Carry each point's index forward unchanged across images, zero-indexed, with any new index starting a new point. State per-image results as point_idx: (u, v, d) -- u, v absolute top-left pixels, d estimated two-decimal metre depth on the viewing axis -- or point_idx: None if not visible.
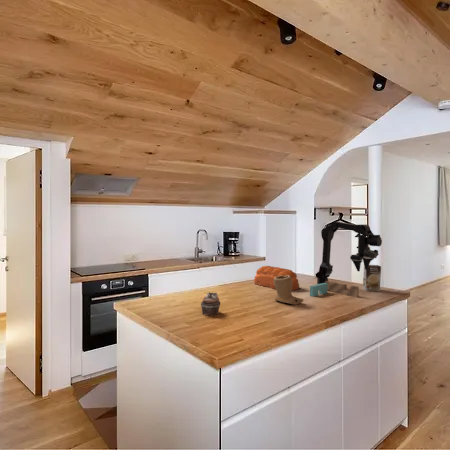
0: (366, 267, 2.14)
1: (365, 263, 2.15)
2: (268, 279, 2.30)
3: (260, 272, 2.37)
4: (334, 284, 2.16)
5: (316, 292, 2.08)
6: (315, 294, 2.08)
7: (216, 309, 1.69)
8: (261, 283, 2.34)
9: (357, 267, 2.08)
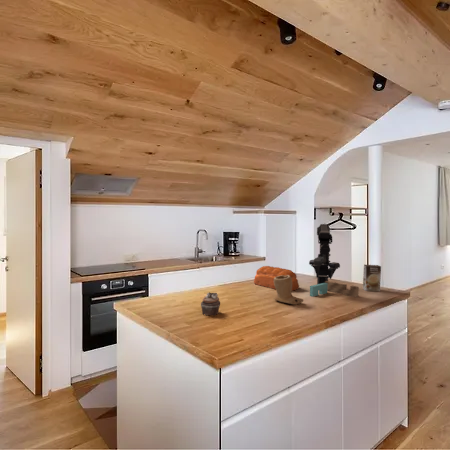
0: None
1: None
2: (268, 279, 2.29)
3: (260, 272, 2.36)
4: (334, 284, 2.16)
5: (316, 292, 2.08)
6: (315, 294, 2.08)
7: (216, 309, 1.69)
8: (260, 283, 2.34)
9: None
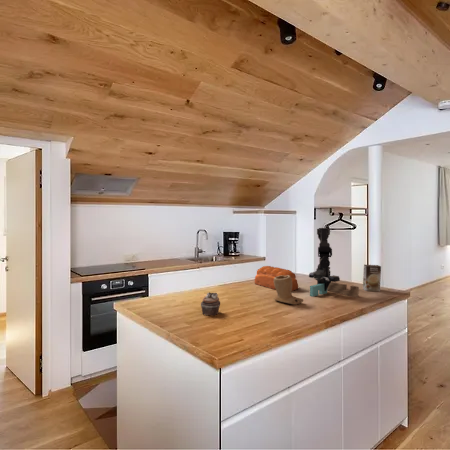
0: None
1: None
2: (267, 279, 2.29)
3: (260, 272, 2.37)
4: (334, 284, 2.16)
5: (316, 292, 2.08)
6: (315, 294, 2.08)
7: (216, 309, 1.69)
8: (260, 283, 2.34)
9: None
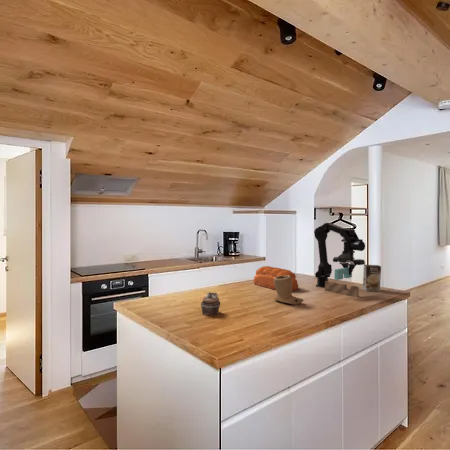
0: None
1: None
2: (267, 279, 2.29)
3: (259, 272, 2.36)
4: (334, 284, 2.16)
5: (341, 276, 2.07)
6: (340, 278, 2.06)
7: (216, 309, 1.69)
8: (260, 284, 2.33)
9: None
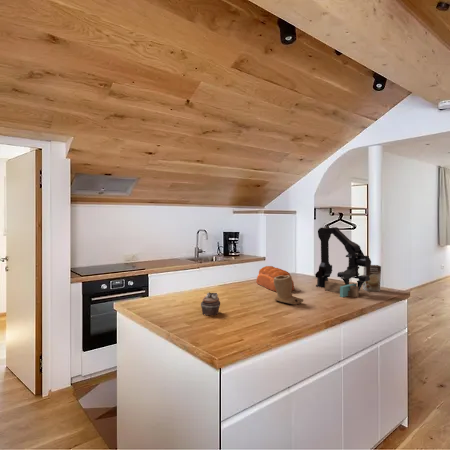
0: None
1: None
2: (265, 279, 2.30)
3: (260, 272, 2.38)
4: (334, 284, 2.16)
5: (346, 293, 2.07)
6: (345, 295, 2.07)
7: (216, 309, 1.69)
8: (260, 283, 2.36)
9: None
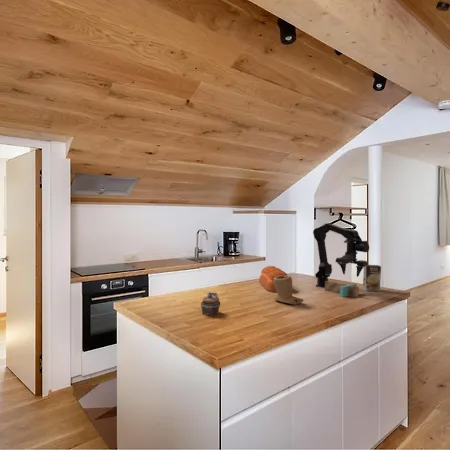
0: None
1: None
2: (263, 278, 2.31)
3: (262, 271, 2.40)
4: (334, 284, 2.16)
5: (346, 293, 2.07)
6: (345, 295, 2.07)
7: (216, 309, 1.69)
8: (260, 282, 2.37)
9: None
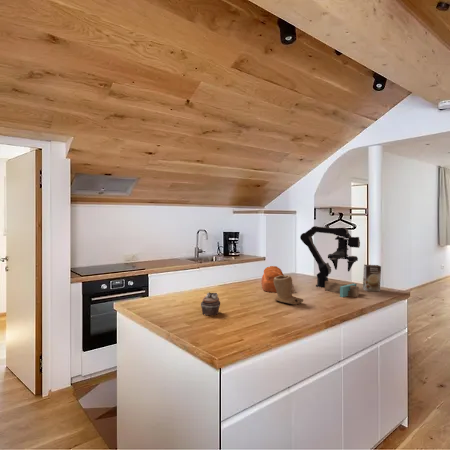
0: None
1: None
2: (263, 278, 2.33)
3: None
4: (334, 284, 2.16)
5: (346, 293, 2.07)
6: (345, 295, 2.07)
7: (216, 309, 1.69)
8: (261, 282, 2.39)
9: None
